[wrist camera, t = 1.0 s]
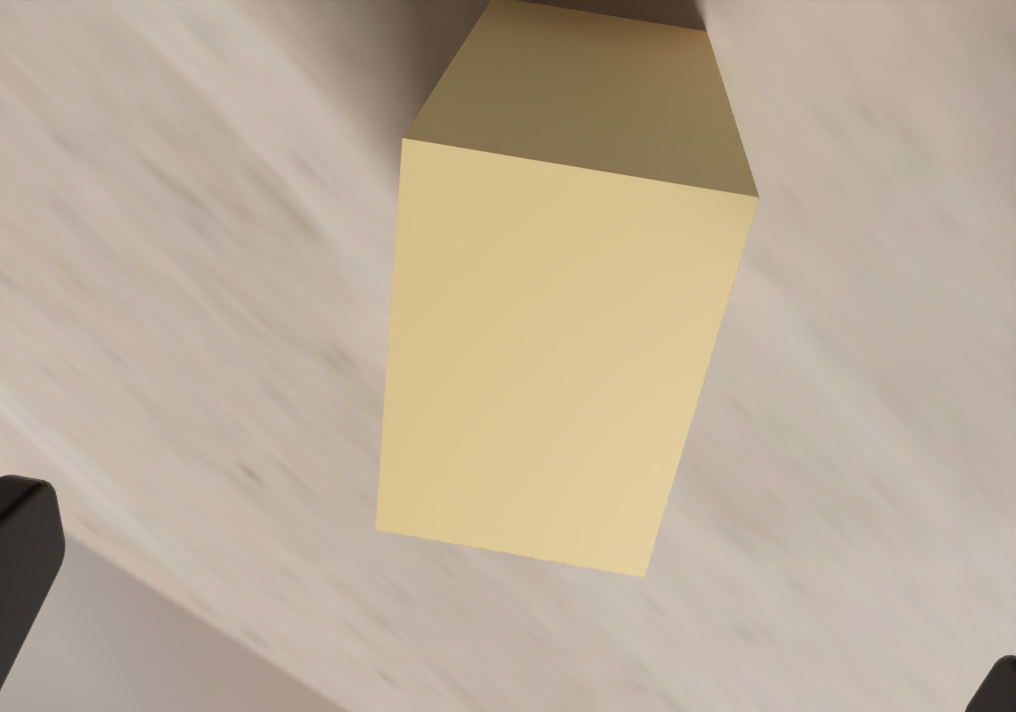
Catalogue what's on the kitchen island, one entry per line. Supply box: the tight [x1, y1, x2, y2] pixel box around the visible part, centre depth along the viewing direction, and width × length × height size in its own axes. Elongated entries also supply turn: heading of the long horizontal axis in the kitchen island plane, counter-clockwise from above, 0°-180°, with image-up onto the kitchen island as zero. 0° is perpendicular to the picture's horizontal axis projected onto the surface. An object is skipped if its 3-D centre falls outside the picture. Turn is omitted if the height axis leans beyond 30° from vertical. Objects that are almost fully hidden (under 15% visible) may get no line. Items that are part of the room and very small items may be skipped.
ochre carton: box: [376, 0, 759, 577], centre depth 15 cm, size 4×6×8 cm
